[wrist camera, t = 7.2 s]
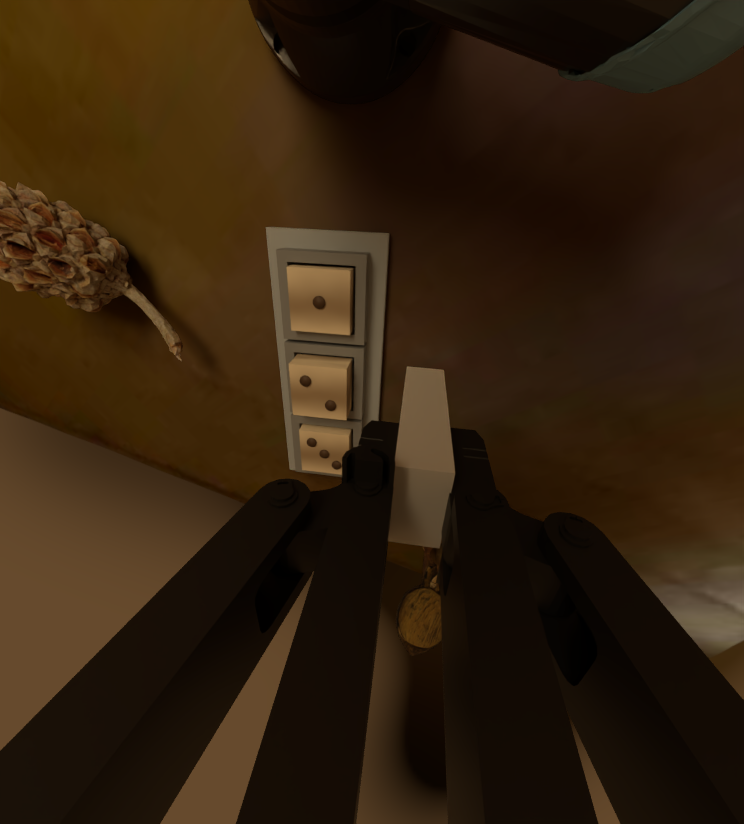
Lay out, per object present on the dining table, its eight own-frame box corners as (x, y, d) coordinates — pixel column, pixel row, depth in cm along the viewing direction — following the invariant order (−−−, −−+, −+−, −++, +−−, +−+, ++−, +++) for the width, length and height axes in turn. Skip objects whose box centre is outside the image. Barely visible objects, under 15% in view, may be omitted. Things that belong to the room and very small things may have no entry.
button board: (270, 226, 35) (256, 228, 32) (389, 233, 34) (386, 234, 31) (292, 464, 50) (284, 479, 47) (375, 474, 49) (372, 490, 46)
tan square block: (296, 262, 35) (285, 266, 32) (356, 266, 34) (349, 271, 31) (300, 322, 38) (290, 331, 35) (355, 326, 37) (349, 335, 34)
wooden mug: (388, 514, 52) (371, 641, 37) (435, 451, 45) (439, 574, 30) (439, 538, 53) (445, 671, 38) (493, 479, 46) (527, 613, 31)
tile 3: (306, 417, 44) (298, 431, 41) (353, 422, 43) (348, 436, 40) (309, 455, 47) (301, 470, 44) (352, 460, 46) (348, 476, 43)
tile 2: (297, 353, 38) (287, 364, 35) (352, 358, 37) (346, 369, 35) (301, 402, 41) (292, 415, 38) (351, 407, 40) (346, 421, 38)
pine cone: (26, 243, 39) (-86, 251, 31) (39, 158, 35) (-88, 140, 26) (201, 361, 44) (146, 398, 35) (232, 300, 39) (178, 324, 31)
